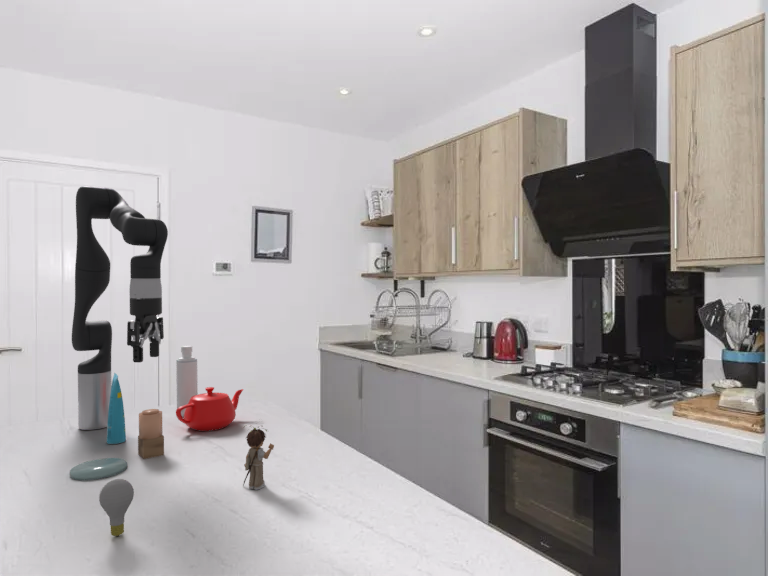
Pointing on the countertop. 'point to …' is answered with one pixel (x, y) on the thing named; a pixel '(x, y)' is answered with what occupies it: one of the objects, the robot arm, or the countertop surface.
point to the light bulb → (116, 503)
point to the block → (151, 447)
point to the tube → (116, 415)
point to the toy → (256, 458)
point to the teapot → (209, 410)
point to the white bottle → (186, 377)
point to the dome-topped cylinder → (150, 424)
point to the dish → (98, 469)
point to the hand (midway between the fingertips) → (146, 359)
